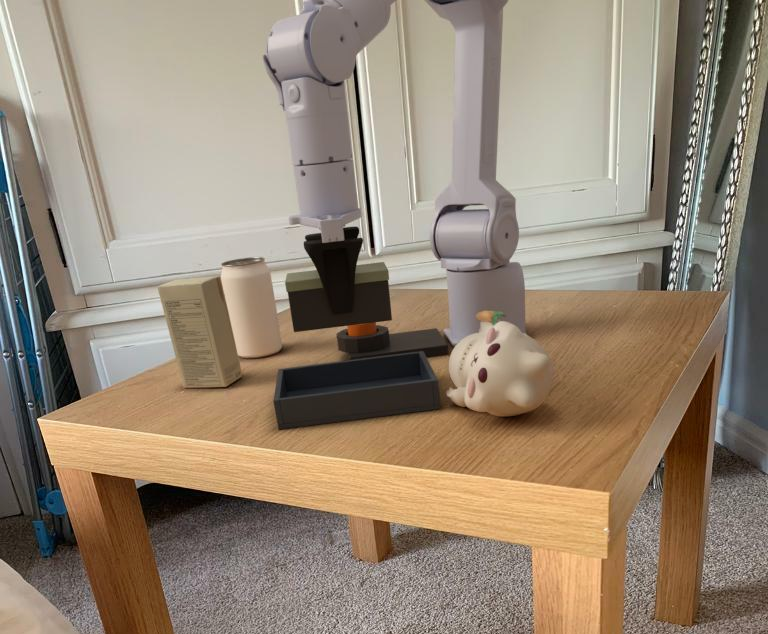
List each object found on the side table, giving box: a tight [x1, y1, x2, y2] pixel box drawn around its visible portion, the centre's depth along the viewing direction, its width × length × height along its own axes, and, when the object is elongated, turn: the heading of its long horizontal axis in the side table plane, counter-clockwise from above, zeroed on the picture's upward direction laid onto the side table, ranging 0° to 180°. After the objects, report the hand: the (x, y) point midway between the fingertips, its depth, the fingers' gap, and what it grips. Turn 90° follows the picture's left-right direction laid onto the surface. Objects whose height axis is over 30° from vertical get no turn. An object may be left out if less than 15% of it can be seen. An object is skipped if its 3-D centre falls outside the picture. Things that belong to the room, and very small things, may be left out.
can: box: [220, 256, 283, 360], centre depth 100 cm, size 6×6×12 cm
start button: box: [346, 322, 377, 336], centre depth 94 cm, size 4×4×2 cm
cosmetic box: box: [157, 275, 243, 389], centre depth 89 cm, size 6×4×12 cm
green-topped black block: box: [284, 261, 393, 333], centre depth 77 cm, size 10×5×5 cm, turn 95°
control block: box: [336, 324, 449, 360], centre depth 95 cm, size 13×9×3 cm
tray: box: [272, 351, 441, 430], centre depth 79 cm, size 16×11×3 cm
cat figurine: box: [445, 311, 554, 417], centre depth 71 cm, size 10×8×15 cm
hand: (341, 307), depth 78 cm, fingers closed on green-topped black block, 5 cm apart
